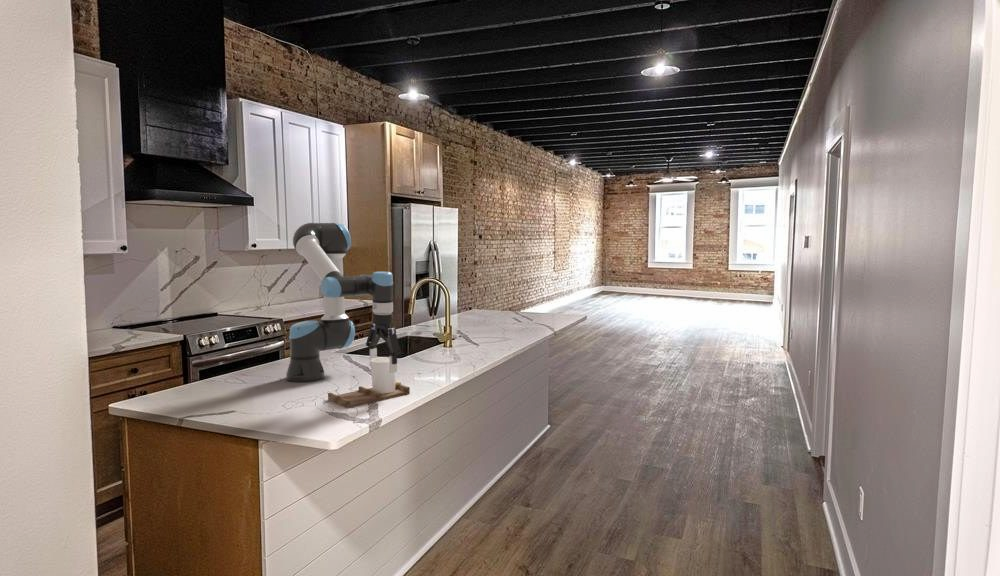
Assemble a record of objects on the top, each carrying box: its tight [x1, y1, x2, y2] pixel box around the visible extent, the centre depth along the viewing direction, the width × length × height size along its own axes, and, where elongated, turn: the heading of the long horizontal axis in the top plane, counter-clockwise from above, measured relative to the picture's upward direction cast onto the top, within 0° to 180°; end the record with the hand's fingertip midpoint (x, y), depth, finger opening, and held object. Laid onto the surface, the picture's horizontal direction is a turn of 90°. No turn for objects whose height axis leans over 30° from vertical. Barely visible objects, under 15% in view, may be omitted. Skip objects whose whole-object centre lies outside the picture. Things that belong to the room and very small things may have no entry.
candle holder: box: [369, 356, 397, 394], centre depth 214 cm, size 10×10×12 cm
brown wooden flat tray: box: [327, 381, 411, 409], centre depth 210 cm, size 14×27×3 cm, turn 134°
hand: (383, 368), depth 214 cm, fingers open, 13 cm apart
